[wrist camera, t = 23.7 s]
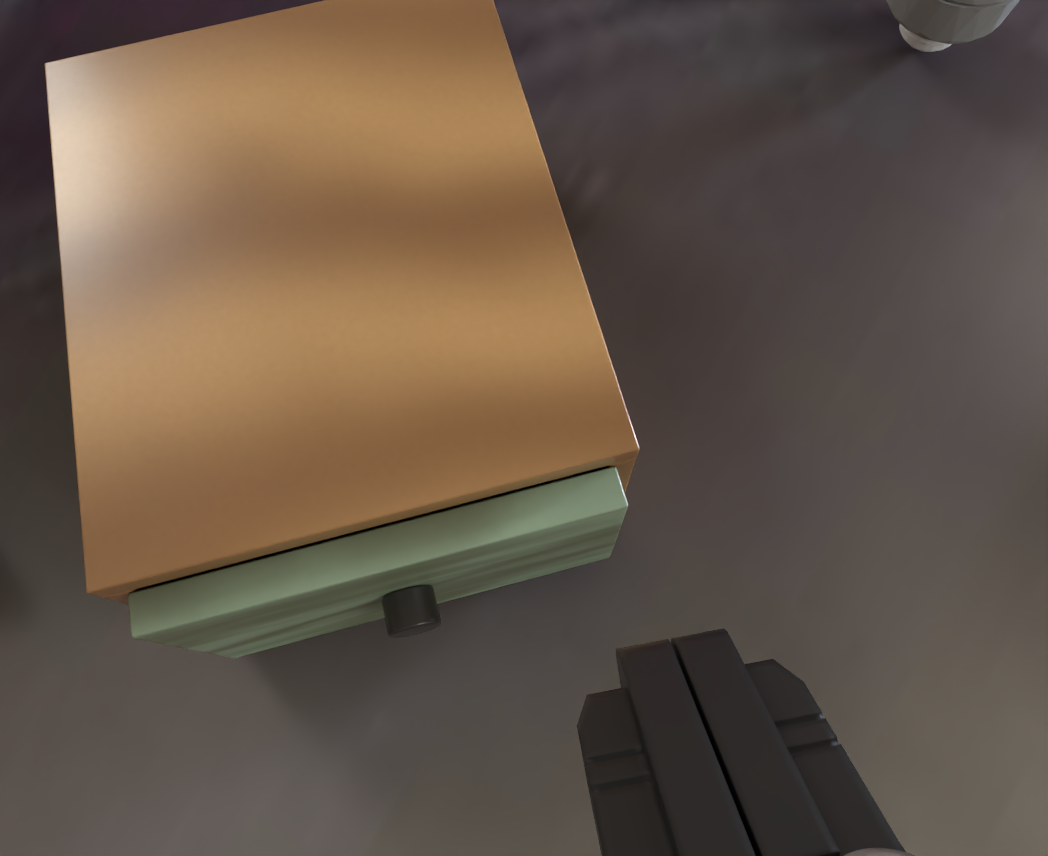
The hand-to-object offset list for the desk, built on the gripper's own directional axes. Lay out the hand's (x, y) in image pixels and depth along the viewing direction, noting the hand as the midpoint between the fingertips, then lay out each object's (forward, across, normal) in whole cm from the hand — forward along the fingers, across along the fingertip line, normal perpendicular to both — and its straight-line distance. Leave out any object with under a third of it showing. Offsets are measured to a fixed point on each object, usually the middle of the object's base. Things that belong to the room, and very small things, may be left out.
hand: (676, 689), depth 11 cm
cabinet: (+23, -6, -1) cm, 24 cm away
